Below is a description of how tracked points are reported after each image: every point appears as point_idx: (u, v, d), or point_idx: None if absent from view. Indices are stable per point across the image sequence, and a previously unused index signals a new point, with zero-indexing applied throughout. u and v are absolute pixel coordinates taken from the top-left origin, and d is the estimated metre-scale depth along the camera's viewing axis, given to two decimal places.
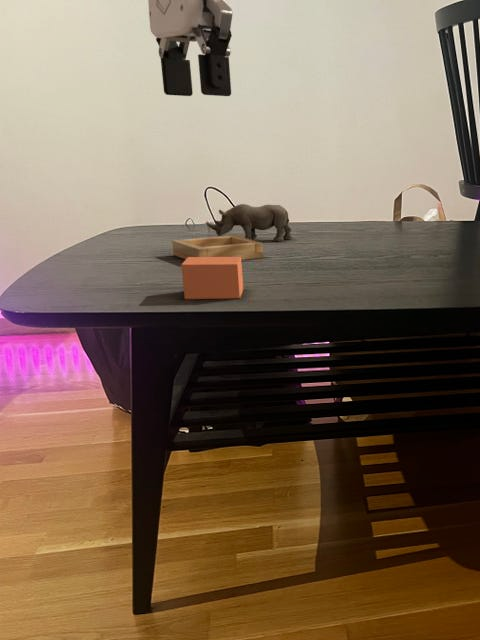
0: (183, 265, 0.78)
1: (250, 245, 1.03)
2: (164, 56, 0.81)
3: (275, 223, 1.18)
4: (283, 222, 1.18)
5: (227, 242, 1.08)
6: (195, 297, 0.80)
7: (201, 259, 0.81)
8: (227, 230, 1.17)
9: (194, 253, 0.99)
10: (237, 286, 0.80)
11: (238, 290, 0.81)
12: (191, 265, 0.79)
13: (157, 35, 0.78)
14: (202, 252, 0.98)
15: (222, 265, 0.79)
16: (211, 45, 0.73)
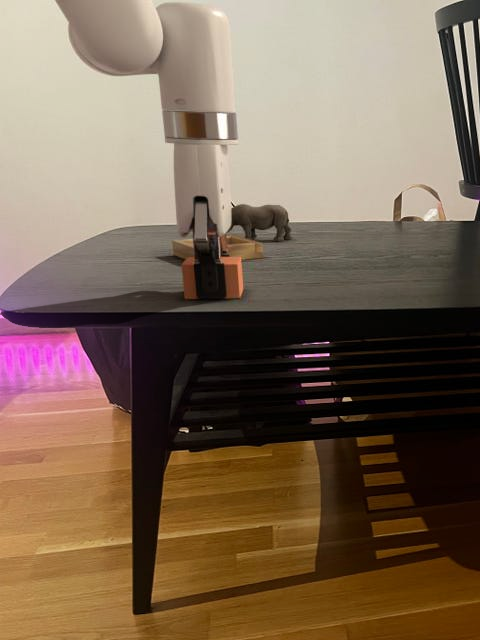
0: (183, 265, 0.78)
1: (250, 245, 1.03)
2: None
3: (275, 223, 1.18)
4: (283, 222, 1.18)
5: (227, 242, 1.08)
6: (195, 297, 0.80)
7: None
8: None
9: None
10: (237, 286, 0.80)
11: (238, 290, 0.81)
12: (191, 265, 0.79)
13: None
14: None
15: None
16: None
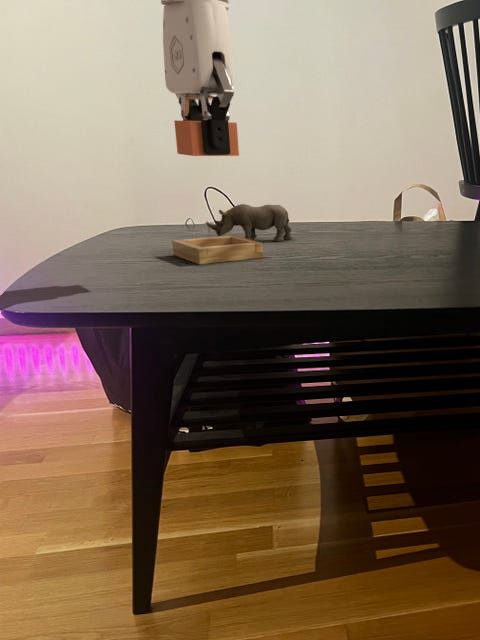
0: (191, 122, 0.84)
1: (250, 245, 1.03)
2: (186, 116, 0.88)
3: (275, 223, 1.18)
4: (283, 222, 1.18)
5: (227, 242, 1.08)
6: (201, 154, 0.86)
7: None
8: (227, 230, 1.17)
9: (194, 253, 0.99)
10: (237, 144, 0.89)
11: (237, 148, 0.89)
12: (198, 122, 0.85)
13: (172, 91, 0.86)
14: (202, 252, 0.98)
15: None
16: (212, 112, 0.84)
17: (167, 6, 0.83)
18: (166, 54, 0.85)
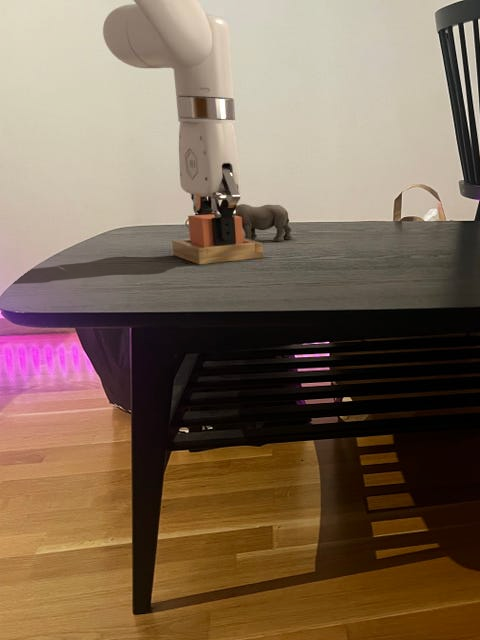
0: (203, 220, 0.99)
1: (250, 245, 1.03)
2: (198, 210, 1.03)
3: (275, 223, 1.18)
4: (283, 222, 1.18)
5: None
6: (212, 245, 1.01)
7: (204, 216, 1.02)
8: None
9: (194, 253, 0.99)
10: (241, 234, 1.04)
11: (242, 237, 1.04)
12: (209, 219, 1.00)
13: (186, 191, 1.01)
14: (202, 252, 0.98)
15: None
16: (221, 212, 0.99)
17: (183, 123, 0.98)
18: (181, 161, 1.00)
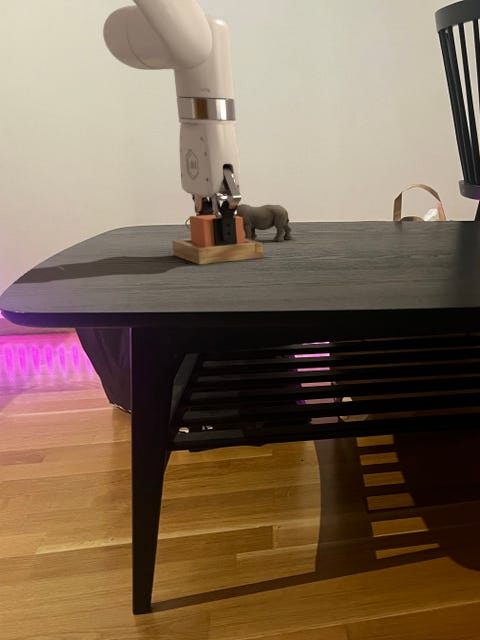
0: (204, 220, 0.99)
1: (250, 245, 1.03)
2: (199, 211, 1.03)
3: (275, 223, 1.18)
4: (283, 222, 1.18)
5: None
6: None
7: (205, 216, 1.02)
8: None
9: (194, 253, 0.99)
10: (242, 235, 1.04)
11: (243, 238, 1.04)
12: (210, 220, 1.00)
13: (187, 192, 1.02)
14: (202, 252, 0.98)
15: None
16: (222, 212, 0.99)
17: (184, 124, 0.98)
18: (182, 161, 1.01)
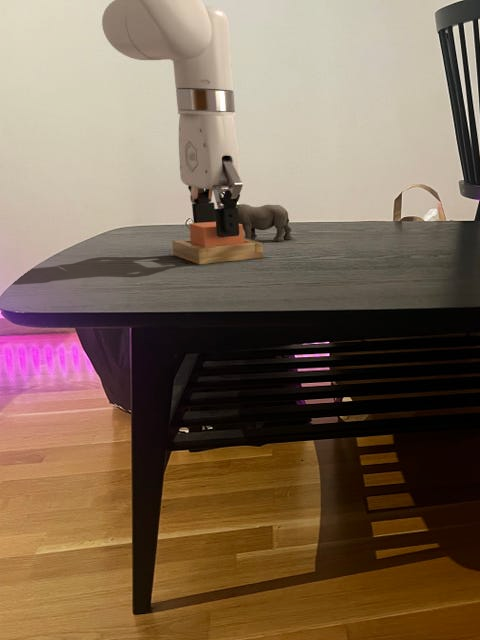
0: (204, 228, 1.00)
1: (250, 245, 1.03)
2: (195, 201, 1.04)
3: (275, 223, 1.18)
4: (283, 222, 1.18)
5: None
6: None
7: (205, 224, 1.02)
8: None
9: (194, 253, 0.99)
10: (242, 242, 1.04)
11: None
12: (210, 227, 1.00)
13: (186, 184, 1.01)
14: (202, 252, 0.98)
15: None
16: (224, 203, 0.98)
17: (183, 115, 0.98)
18: (181, 153, 1.00)
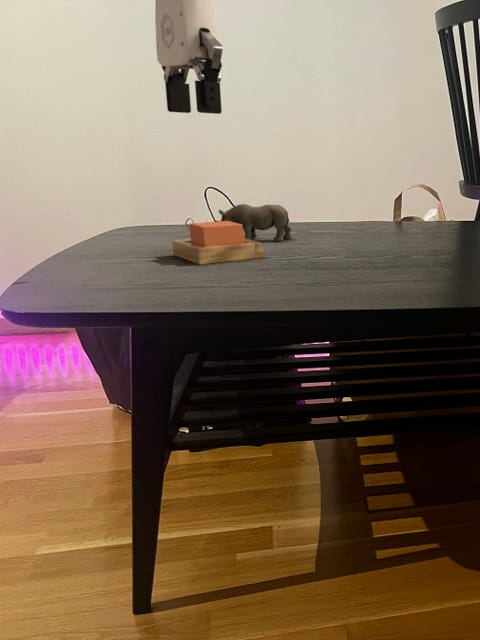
0: (204, 228, 1.00)
1: (250, 245, 1.03)
2: (168, 80, 0.99)
3: (275, 223, 1.18)
4: (283, 222, 1.18)
5: None
6: None
7: (205, 224, 1.02)
8: None
9: (194, 253, 0.99)
10: (242, 242, 1.04)
11: None
12: (210, 227, 1.00)
13: (162, 64, 0.96)
14: (202, 252, 0.98)
15: (232, 225, 1.02)
16: (205, 73, 0.92)
17: None
18: (157, 31, 0.95)
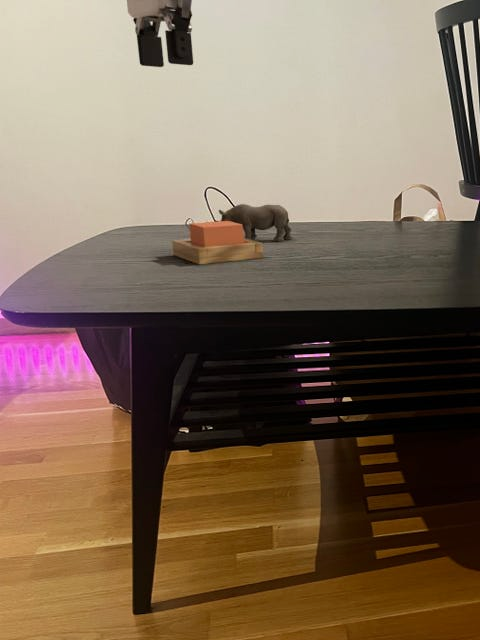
0: (204, 228, 1.00)
1: (250, 245, 1.03)
2: (139, 33, 0.99)
3: (275, 223, 1.18)
4: (283, 222, 1.18)
5: None
6: None
7: (205, 224, 1.02)
8: None
9: (194, 253, 0.99)
10: (242, 242, 1.04)
11: None
12: (210, 227, 1.00)
13: (133, 15, 0.95)
14: (202, 252, 0.98)
15: (232, 225, 1.02)
16: (175, 22, 0.91)
17: None
18: None
